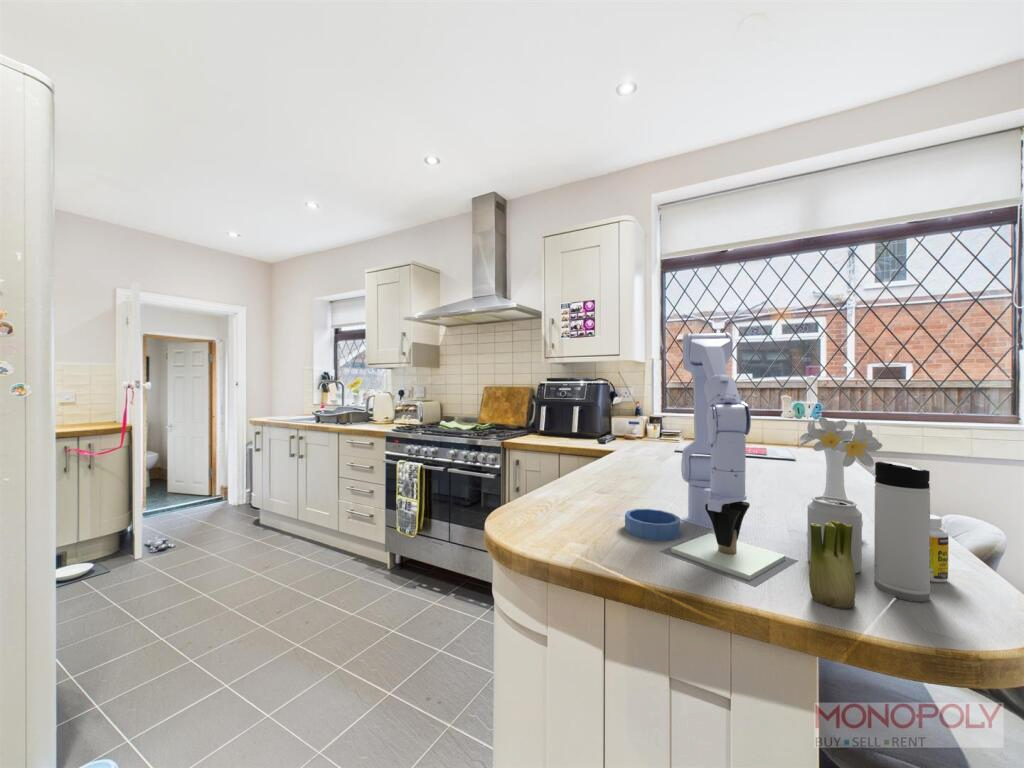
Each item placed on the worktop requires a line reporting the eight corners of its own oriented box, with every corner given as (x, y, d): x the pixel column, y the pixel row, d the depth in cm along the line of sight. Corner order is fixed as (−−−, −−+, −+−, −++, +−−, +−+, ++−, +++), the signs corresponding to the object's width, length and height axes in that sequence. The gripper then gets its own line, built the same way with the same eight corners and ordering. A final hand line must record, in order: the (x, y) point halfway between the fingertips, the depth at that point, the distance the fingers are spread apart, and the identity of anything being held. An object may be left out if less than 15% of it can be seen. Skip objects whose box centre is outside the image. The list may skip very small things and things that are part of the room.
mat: (706, 535, 88) (706, 533, 88) (798, 562, 75) (798, 560, 75) (659, 553, 78) (659, 551, 78) (755, 589, 64) (755, 586, 64)
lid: (709, 536, 86) (710, 513, 86) (785, 559, 75) (785, 533, 75) (671, 552, 78) (671, 526, 78) (749, 580, 67) (749, 550, 67)
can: (870, 581, 68) (870, 507, 68) (815, 573, 70) (815, 502, 70) (850, 563, 75) (851, 496, 75) (801, 557, 77) (802, 492, 77)
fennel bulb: (810, 607, 60) (810, 523, 60) (804, 592, 64) (805, 514, 64) (861, 617, 57) (862, 530, 57) (852, 601, 61) (852, 520, 61)
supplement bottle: (943, 587, 66) (943, 522, 66) (897, 573, 71) (897, 513, 71) (952, 578, 69) (952, 516, 69) (907, 566, 74) (907, 508, 74)
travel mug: (861, 583, 67) (862, 459, 67) (899, 582, 67) (899, 459, 68) (901, 603, 61) (901, 466, 61) (942, 602, 61) (942, 466, 61)
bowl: (645, 522, 97) (646, 506, 97) (690, 536, 88) (690, 518, 88) (615, 531, 90) (615, 514, 90) (659, 547, 82) (659, 528, 82)
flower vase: (837, 551, 80) (838, 421, 80) (782, 520, 99) (782, 415, 99) (909, 553, 79) (909, 422, 79) (840, 522, 98) (840, 416, 98)
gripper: (718, 461, 85) (717, 528, 84) (690, 470, 74) (689, 547, 74) (757, 466, 80) (756, 537, 79) (733, 477, 69) (732, 558, 69)
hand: (727, 542), depth 76 cm, fingers closed on lid, 3 cm apart
